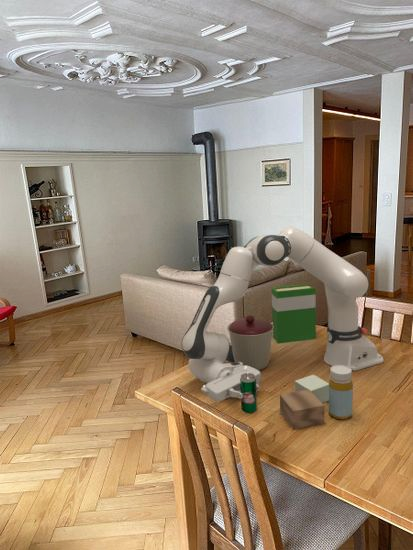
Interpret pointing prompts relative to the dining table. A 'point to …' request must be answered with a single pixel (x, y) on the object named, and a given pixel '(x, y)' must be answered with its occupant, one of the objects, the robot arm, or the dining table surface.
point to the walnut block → (302, 409)
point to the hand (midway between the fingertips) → (250, 392)
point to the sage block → (314, 387)
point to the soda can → (248, 393)
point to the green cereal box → (294, 313)
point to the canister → (251, 341)
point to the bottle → (340, 392)
